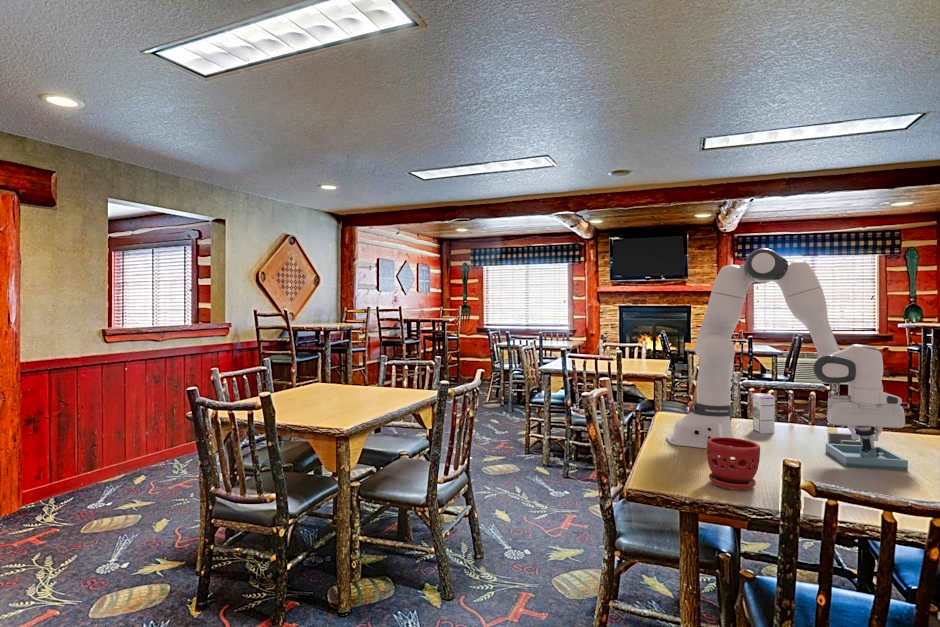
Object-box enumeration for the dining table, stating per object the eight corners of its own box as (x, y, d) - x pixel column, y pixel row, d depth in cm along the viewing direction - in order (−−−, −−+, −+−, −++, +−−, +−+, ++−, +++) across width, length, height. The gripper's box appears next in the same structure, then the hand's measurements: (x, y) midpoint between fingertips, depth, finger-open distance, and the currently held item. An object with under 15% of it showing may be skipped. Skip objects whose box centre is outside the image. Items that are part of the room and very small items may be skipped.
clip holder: (842, 451, 181) (842, 440, 180) (828, 442, 192) (828, 432, 192) (869, 452, 179) (870, 442, 178) (853, 443, 190) (854, 433, 190)
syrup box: (775, 433, 205) (775, 395, 205) (759, 433, 205) (759, 395, 205) (767, 429, 211) (767, 393, 211) (751, 429, 211) (752, 393, 211)
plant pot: (762, 496, 139) (762, 450, 139) (706, 489, 144) (707, 444, 144) (757, 480, 151) (758, 438, 151) (706, 474, 156) (706, 433, 156)
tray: (846, 466, 164) (846, 456, 164) (825, 452, 179) (825, 443, 179) (907, 470, 160) (907, 460, 160) (881, 455, 175) (881, 446, 175)
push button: (888, 456, 167) (882, 424, 167) (879, 461, 165) (872, 430, 165) (865, 452, 173) (859, 422, 173) (856, 457, 171) (849, 427, 171)
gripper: (831, 396, 169) (831, 440, 169) (908, 399, 163) (907, 444, 164) (823, 393, 175) (823, 435, 175) (897, 395, 170) (896, 439, 170)
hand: (864, 440), depth 169 cm, fingers closed on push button, 4 cm apart
